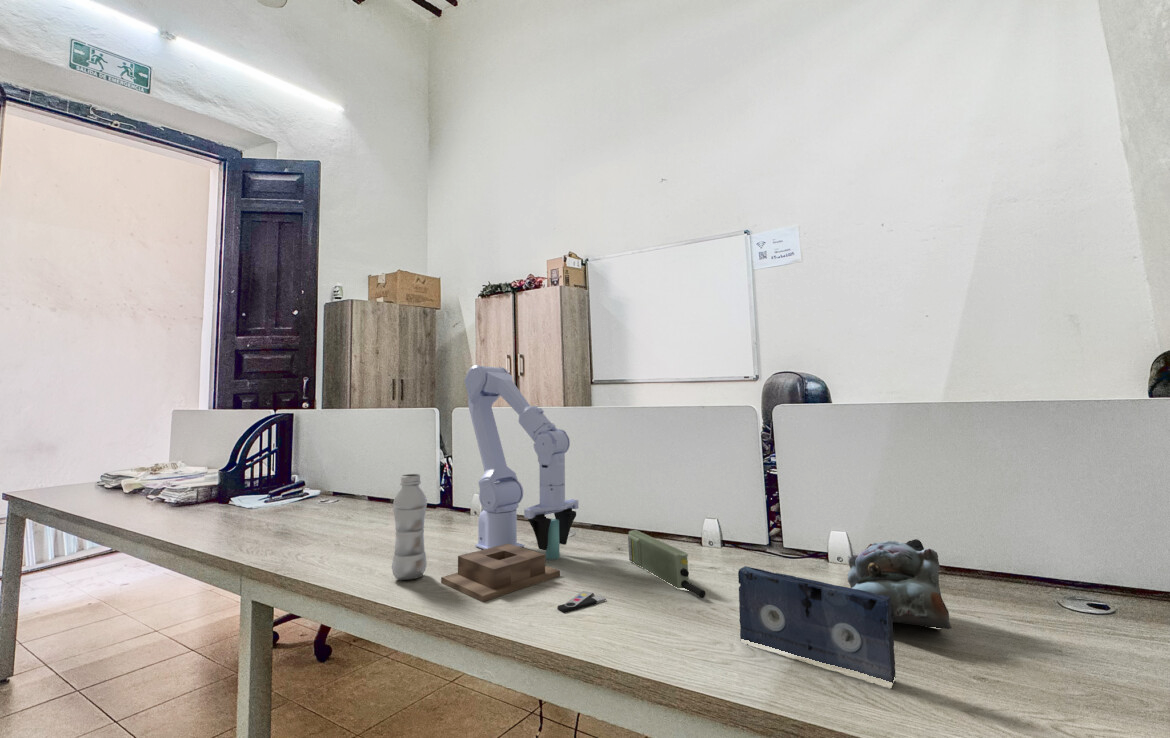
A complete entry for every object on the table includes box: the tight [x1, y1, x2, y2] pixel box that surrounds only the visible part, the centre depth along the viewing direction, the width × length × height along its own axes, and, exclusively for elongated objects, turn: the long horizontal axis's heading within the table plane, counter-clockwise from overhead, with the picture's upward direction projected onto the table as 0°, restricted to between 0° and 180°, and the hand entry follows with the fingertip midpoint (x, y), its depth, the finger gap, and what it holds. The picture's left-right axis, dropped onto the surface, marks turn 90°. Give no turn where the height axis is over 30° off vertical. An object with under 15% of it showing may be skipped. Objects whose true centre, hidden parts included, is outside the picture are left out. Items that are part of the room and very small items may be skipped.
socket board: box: [440, 544, 561, 603], centre depth 95 cm, size 14×18×4 cm
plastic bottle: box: [391, 473, 428, 581], centre depth 97 cm, size 6×7×20 cm
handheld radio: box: [627, 529, 707, 599], centre depth 95 cm, size 7×3×25 cm
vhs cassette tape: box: [737, 565, 896, 683], centre depth 64 cm, size 18×3×10 cm, turn 48°
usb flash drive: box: [556, 590, 607, 614], centre depth 83 cm, size 9×5×1 cm, turn 124°
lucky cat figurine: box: [847, 538, 952, 630], centre depth 75 cm, size 15×12×14 cm
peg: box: [545, 518, 561, 561], centre depth 109 cm, size 3×3×8 cm
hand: (552, 546), depth 109 cm, fingers open, 5 cm apart
